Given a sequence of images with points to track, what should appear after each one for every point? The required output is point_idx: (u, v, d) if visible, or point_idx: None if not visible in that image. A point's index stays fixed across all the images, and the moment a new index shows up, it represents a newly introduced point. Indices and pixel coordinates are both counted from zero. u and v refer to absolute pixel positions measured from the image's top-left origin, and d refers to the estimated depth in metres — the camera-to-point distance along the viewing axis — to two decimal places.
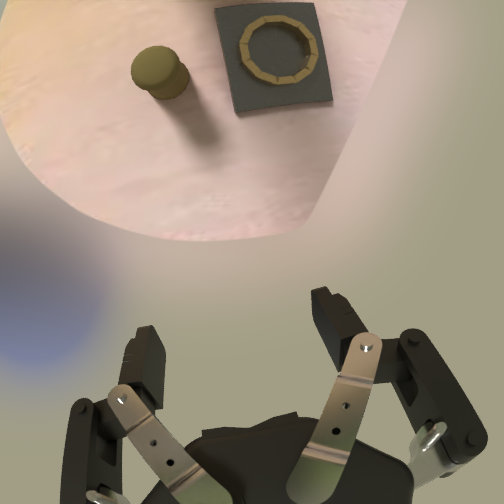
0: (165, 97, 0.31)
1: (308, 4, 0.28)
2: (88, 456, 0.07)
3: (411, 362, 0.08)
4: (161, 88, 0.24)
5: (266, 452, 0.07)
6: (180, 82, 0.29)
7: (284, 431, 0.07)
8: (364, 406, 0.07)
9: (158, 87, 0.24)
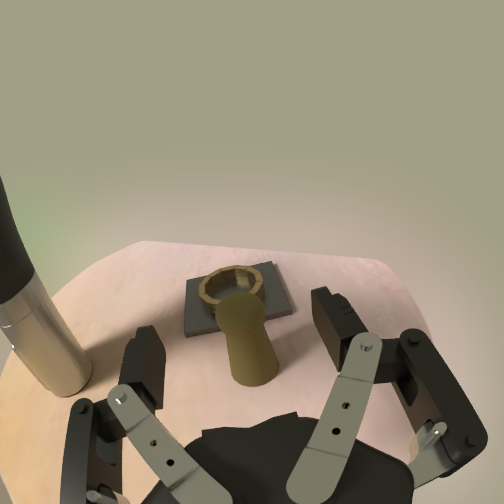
0: (275, 357, 0.33)
1: (188, 282, 0.51)
2: (88, 456, 0.07)
3: (411, 362, 0.08)
4: None
5: (265, 452, 0.07)
6: None
7: (284, 431, 0.07)
8: (364, 406, 0.07)
9: (261, 302, 0.29)
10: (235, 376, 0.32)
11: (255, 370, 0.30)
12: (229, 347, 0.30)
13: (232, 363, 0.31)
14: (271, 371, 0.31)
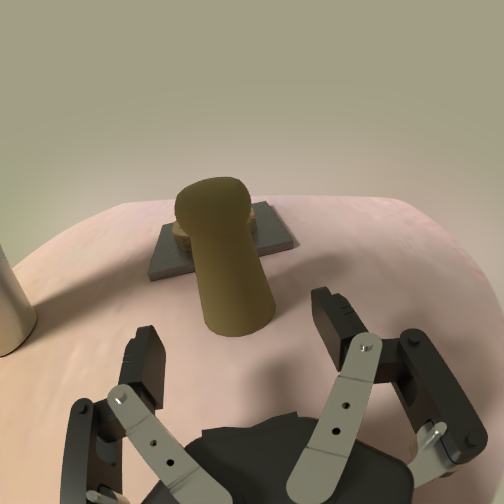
0: (270, 292, 0.23)
1: (164, 226, 0.41)
2: (88, 456, 0.07)
3: (411, 362, 0.08)
4: None
5: (266, 452, 0.07)
6: None
7: (284, 431, 0.07)
8: (364, 406, 0.07)
9: (244, 186, 0.19)
10: (208, 320, 0.22)
11: (238, 305, 0.20)
12: (196, 265, 0.20)
13: (202, 296, 0.21)
14: (263, 311, 0.21)
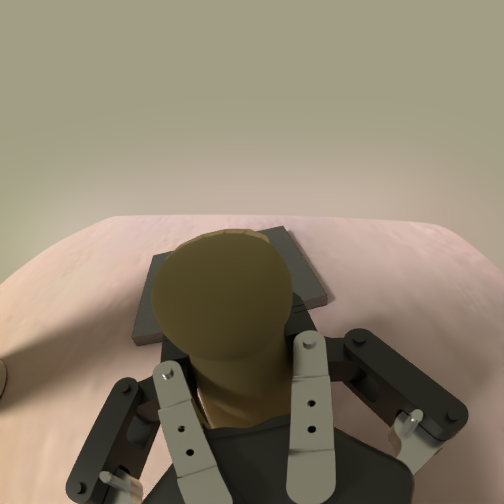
0: None
1: (154, 258, 0.32)
2: (116, 438, 0.07)
3: (364, 362, 0.09)
4: None
5: (265, 452, 0.07)
6: None
7: (284, 431, 0.07)
8: (329, 399, 0.07)
9: (281, 257, 0.10)
10: None
11: None
12: (196, 379, 0.11)
13: (208, 412, 0.12)
14: None
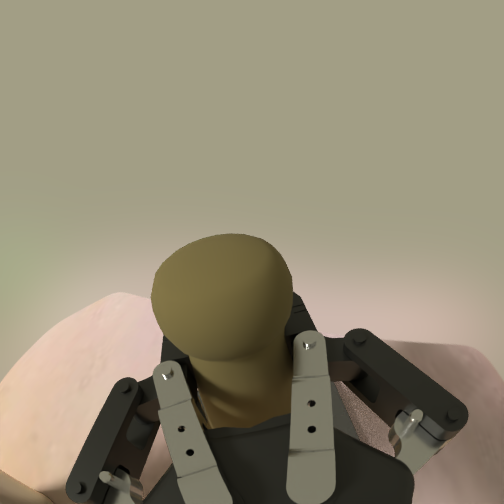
0: None
1: None
2: (116, 438, 0.07)
3: (364, 362, 0.09)
4: None
5: (266, 452, 0.07)
6: None
7: (284, 431, 0.07)
8: (329, 399, 0.07)
9: (281, 258, 0.10)
10: None
11: None
12: (196, 380, 0.11)
13: (208, 412, 0.12)
14: None
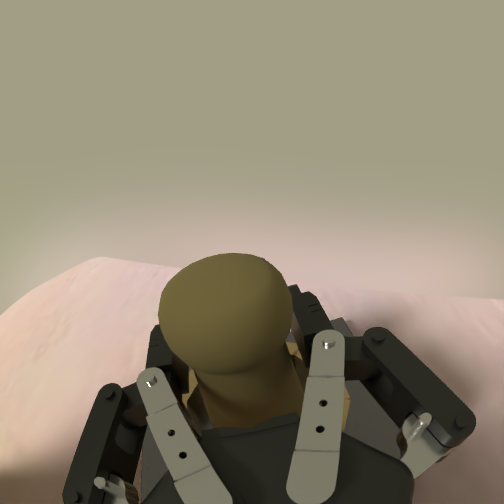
0: None
1: None
2: (105, 443, 0.07)
3: (380, 361, 0.09)
4: None
5: (266, 452, 0.07)
6: None
7: (284, 431, 0.07)
8: (341, 400, 0.07)
9: (281, 277, 0.11)
10: None
11: None
12: (201, 390, 0.12)
13: (212, 421, 0.13)
14: None
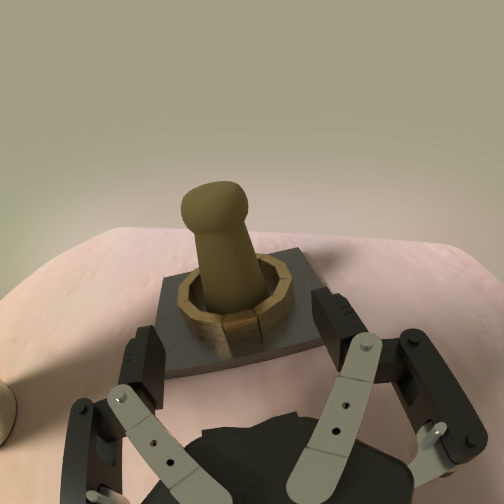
0: (265, 284, 0.25)
1: (165, 281, 0.31)
2: (88, 456, 0.07)
3: (411, 362, 0.08)
4: None
5: (266, 452, 0.07)
6: None
7: (284, 431, 0.07)
8: (364, 406, 0.07)
9: (242, 189, 0.21)
10: (209, 309, 0.24)
11: (235, 294, 0.23)
12: (199, 258, 0.23)
13: (204, 286, 0.24)
14: (258, 300, 0.24)
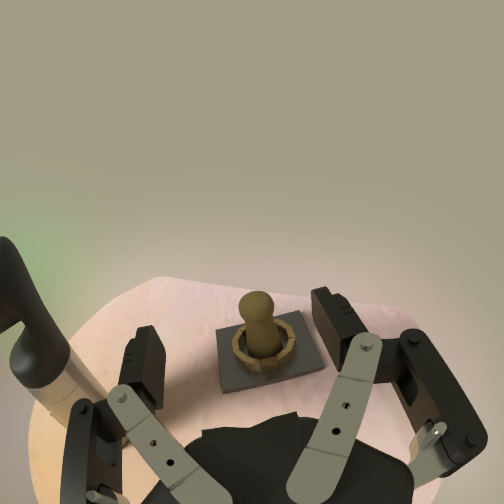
0: None
1: (217, 332, 0.51)
2: (88, 456, 0.07)
3: (411, 362, 0.08)
4: None
5: (266, 452, 0.07)
6: None
7: (284, 431, 0.07)
8: (364, 406, 0.07)
9: (271, 298, 0.41)
10: (251, 354, 0.44)
11: (266, 348, 0.42)
12: (247, 331, 0.42)
13: (249, 343, 0.43)
14: (277, 349, 0.44)
